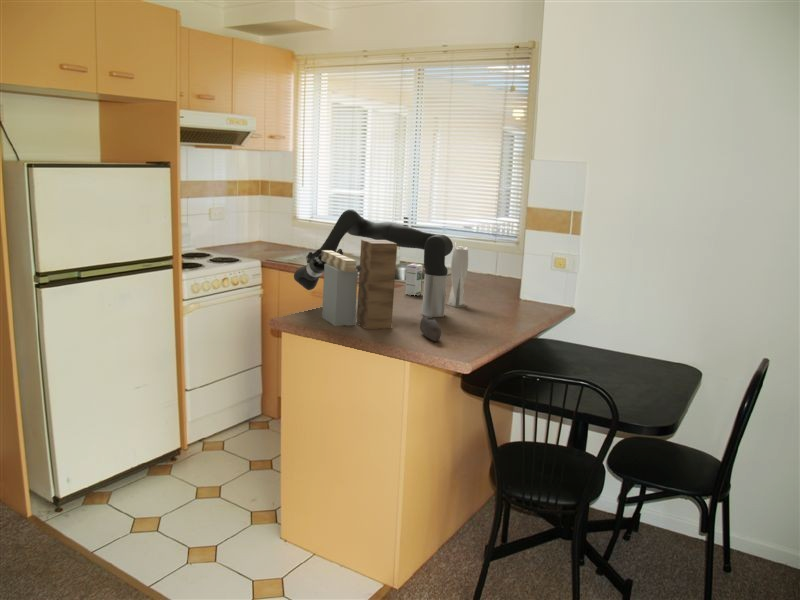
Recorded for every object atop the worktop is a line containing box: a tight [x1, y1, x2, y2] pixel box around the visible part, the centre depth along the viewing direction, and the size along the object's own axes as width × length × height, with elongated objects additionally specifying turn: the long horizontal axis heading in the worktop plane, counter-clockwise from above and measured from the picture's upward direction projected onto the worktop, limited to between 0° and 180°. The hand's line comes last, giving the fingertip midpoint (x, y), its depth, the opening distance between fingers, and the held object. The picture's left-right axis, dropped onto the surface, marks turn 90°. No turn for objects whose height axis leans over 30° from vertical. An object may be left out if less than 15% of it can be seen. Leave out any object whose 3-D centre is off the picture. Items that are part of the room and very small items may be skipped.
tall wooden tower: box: [356, 239, 398, 330], centre depth 251 cm, size 10×10×32 cm
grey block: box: [321, 264, 359, 327], centre depth 255 cm, size 14×8×21 cm, turn 26°
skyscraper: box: [445, 241, 469, 309], centre depth 299 cm, size 8×8×28 cm
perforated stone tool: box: [419, 315, 442, 343], centre depth 241 cm, size 15×5×7 cm, turn 14°
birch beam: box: [321, 250, 357, 272], centre depth 255 cm, size 26×4×4 cm, turn 26°
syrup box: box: [404, 263, 424, 297], centre depth 317 cm, size 6×6×14 cm
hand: (330, 250), depth 262 cm, fingers open, 8 cm apart
